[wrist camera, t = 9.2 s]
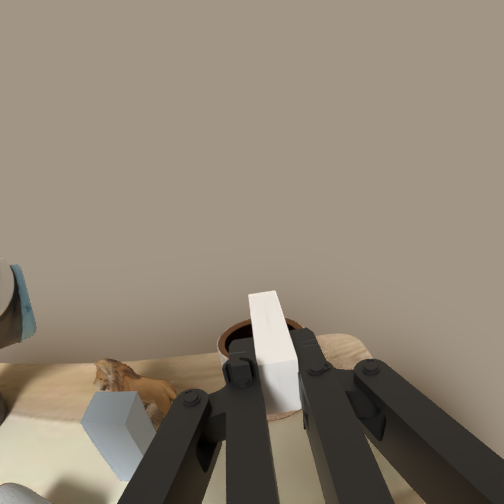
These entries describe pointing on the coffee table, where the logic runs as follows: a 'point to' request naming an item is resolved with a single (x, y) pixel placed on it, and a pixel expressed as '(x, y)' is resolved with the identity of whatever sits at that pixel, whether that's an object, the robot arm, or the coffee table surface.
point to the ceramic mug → (19, 495)
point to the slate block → (119, 430)
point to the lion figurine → (133, 384)
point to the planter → (246, 331)
